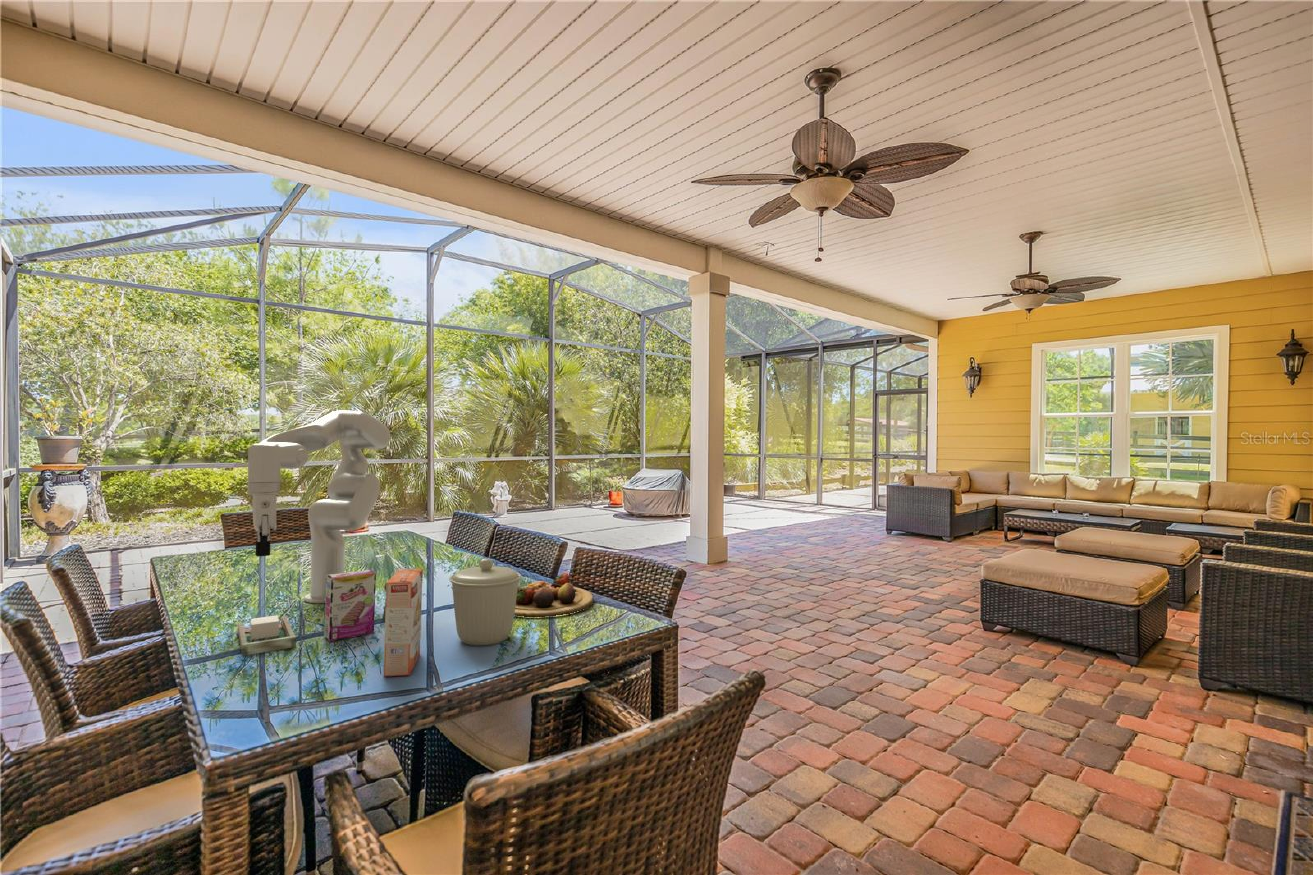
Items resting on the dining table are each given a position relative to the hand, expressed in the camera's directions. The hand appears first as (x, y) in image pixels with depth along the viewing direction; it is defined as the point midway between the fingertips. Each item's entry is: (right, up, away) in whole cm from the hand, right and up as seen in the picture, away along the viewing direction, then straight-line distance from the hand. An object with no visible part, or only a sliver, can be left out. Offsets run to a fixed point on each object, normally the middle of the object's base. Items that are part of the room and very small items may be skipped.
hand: (262, 555), depth 168 cm
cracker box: (+50, -20, -27) cm, 60 cm away
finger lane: (+8, -19, -11) cm, 23 cm away
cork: (+33, -20, +7) cm, 39 cm away
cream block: (+6, -20, -8) cm, 22 cm away
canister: (+63, -21, -9) cm, 67 cm away
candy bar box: (+28, -20, -8) cm, 35 cm away
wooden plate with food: (+72, -21, +26) cm, 80 cm away
